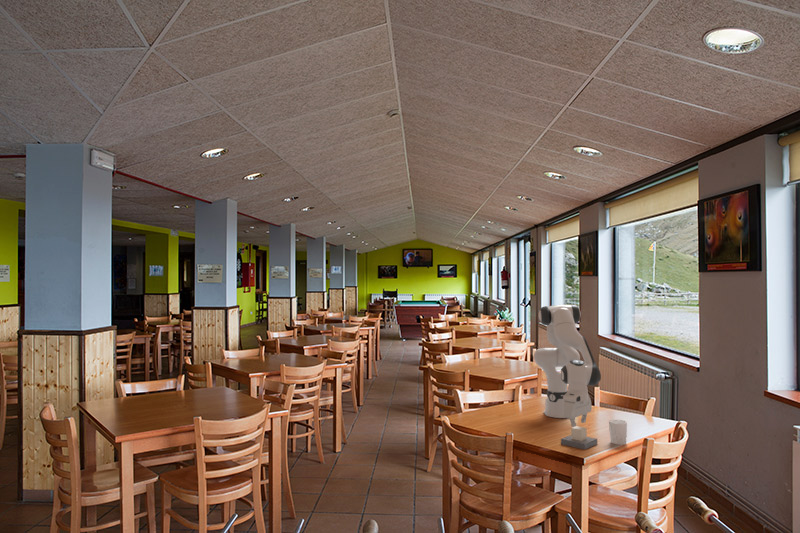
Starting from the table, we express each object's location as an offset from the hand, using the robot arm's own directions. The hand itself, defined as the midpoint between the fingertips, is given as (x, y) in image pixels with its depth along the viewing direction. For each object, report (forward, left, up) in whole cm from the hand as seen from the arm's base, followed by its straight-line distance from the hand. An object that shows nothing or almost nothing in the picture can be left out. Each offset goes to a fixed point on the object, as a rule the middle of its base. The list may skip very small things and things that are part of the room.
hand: (578, 424), depth 243 cm
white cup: (-15, +12, -9) cm, 21 cm away
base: (0, 0, -9) cm, 9 cm away
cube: (0, 0, -7) cm, 7 cm away
